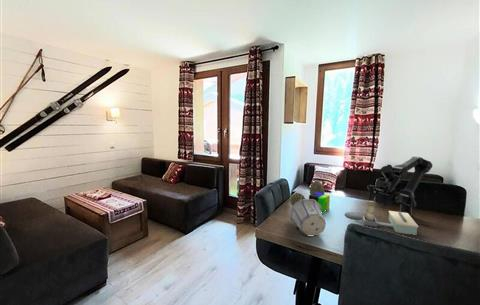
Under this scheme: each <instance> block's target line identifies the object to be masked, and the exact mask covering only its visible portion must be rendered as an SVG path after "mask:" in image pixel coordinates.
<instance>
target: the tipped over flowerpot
mask: <svg viewBox="0 0 480 305" xmlns="http://www.w3.org/2000/svg"><path fill="white" fill-rule="evenodd" d="M290 196H291V197H290V204H291V206H290V209H289V210H290V211H289V220H290V221H291V222H293V224H295V225H296V226H297V227H298V229H299V231H300V232H301V233H302V234H303V235H304V236H306V235H317V236H319V235H321V234H322V233H323V232H324V231H325V229H326V225H327V224H326V220H325V217H324V216H323V213H321V211H322V206H321V205H320V204H319V203H318V202H317V201H315V200H314V199H309V198H308V199H306V198H305V196H304V195H303V194H302V193H299V192H294V193H292V194H291V195H290Z"/></svg>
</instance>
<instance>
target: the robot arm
mask: <svg viewBox="0 0 480 305" xmlns="http://www.w3.org/2000/svg"><path fill="white" fill-rule="evenodd" d="M413 168H414V172H413V174H412V175H411V177H410V179H409V180H408V182H407V184H406V186H405V188H404V189H402V188H401V189H399V191H395V190H396V186H397V185H398V183H399V184H400V183H402V181H401V178H404V177H406V175H408V174H409V171H410V170H411V169H413ZM432 168H433V163H432V162H431V161H429V160H428V159H425V158H423V157H421V156H420V157H419V156H412V157H411V158H410V159H408V160H406V161H405V162H403V163H401V164H396V165H393V166H392V164H386V165H385V166H382V167H381V168H380V172H381V174H382V176H384V178H385V179H386V180H380V179H376V181H375V185H372V184H369V185H367V186H366V188H367V190H368V191H369V197H368V201H373V199H375V198H376V196H377V195H378V193H379V194H381V195H385V196H388V197H387V199H386V200H385V202H384V204H383V207H384V208H385V207H387V206H390V205H392V204H395V203H397V204H399V205H400V210H398V211H397V212H403V213H408V214H409V215H410V216H411V217H414V215H413V214H412V211H413V209H412V208H416V206H417V202H416V200H415V191H416V189H417V188H418V186H419V184H420V182H421V181H422V178H423V177H424V175H425V174H427V173H429V172H430V170H431V169H432ZM400 177H401V178H400ZM376 186H377V187H376Z"/></svg>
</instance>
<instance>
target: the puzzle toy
mask: <svg viewBox="0 0 480 305" xmlns="http://www.w3.org/2000/svg"><path fill="white" fill-rule="evenodd" d="M330 196H331V195H330V194H326V193H324V194H322V193H317V192H315V193H313V194H311V195H310V194H309V195H308V199H314V200H315V201H317V202H318V203H319V204H320V205H321V206H322V211H321V212H324V211H325V210H327V209H329V210H330V201H331V200H330ZM327 211H328V210H327ZM324 213H325V212H324Z"/></svg>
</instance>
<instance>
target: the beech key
mask: <svg viewBox="0 0 480 305" xmlns="http://www.w3.org/2000/svg"><path fill="white" fill-rule="evenodd" d="M365 204H366V210H365V211H366V214H365V217H366V220H367V221H374V218H375V207H376V205H377V204H376V201H373V200H372V201H369V200H366V201H365Z"/></svg>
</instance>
